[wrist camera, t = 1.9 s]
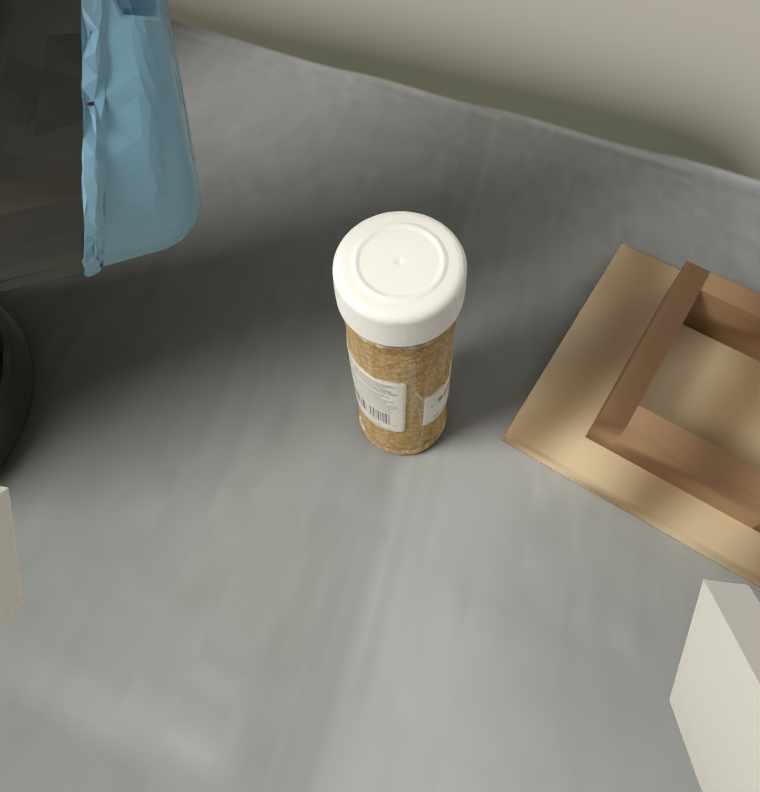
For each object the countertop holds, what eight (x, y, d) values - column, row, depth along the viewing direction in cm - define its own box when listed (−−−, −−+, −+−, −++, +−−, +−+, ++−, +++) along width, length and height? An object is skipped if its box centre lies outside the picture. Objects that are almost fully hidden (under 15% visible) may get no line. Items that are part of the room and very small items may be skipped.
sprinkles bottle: (462, 434, 34) (493, 287, 22) (380, 472, 34) (364, 341, 21) (422, 361, 36) (430, 187, 24) (343, 395, 35) (309, 234, 23)
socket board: (502, 440, 34) (515, 407, 30) (615, 256, 38) (638, 207, 34) (823, 623, 30) (884, 612, 26) (909, 395, 34) (973, 356, 30)
